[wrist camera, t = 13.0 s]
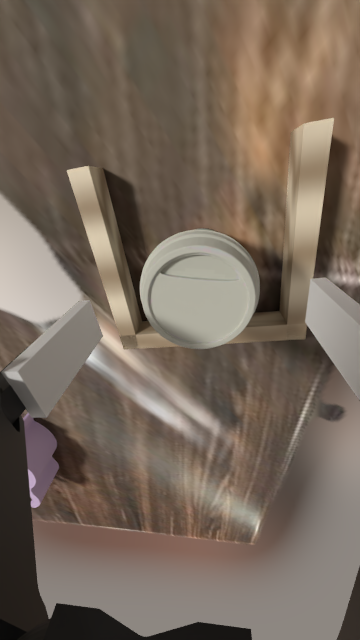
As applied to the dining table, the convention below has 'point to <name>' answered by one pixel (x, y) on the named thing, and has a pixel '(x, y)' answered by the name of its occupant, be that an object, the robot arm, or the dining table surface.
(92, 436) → the dining table surface
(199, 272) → the coffee cup
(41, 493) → the clip
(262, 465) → the dining table surface
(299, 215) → the u rest
